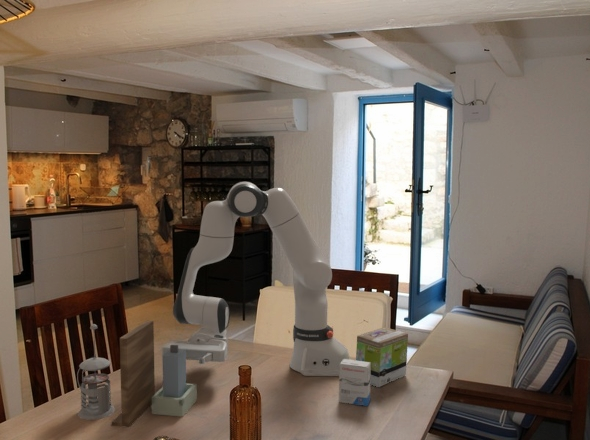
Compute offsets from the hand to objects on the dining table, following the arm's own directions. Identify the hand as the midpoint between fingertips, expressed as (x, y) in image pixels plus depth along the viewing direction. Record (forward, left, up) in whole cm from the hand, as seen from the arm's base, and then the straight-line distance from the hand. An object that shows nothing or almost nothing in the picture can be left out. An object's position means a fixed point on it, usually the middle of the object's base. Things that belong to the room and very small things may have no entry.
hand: (186, 360), depth 165 cm
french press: (+21, +15, -11) cm, 28 cm away
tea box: (-57, -26, -11) cm, 63 cm away
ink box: (-50, -6, -11) cm, 51 cm away
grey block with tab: (0, +8, -8) cm, 11 cm away
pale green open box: (0, +8, -11) cm, 13 cm away
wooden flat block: (+10, +14, -11) cm, 20 cm away
